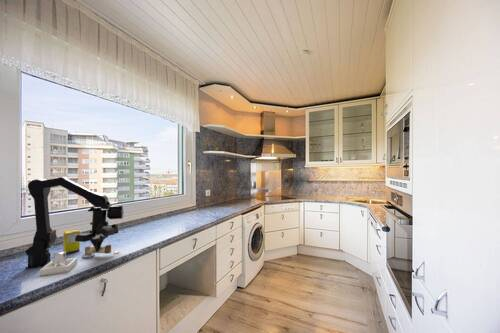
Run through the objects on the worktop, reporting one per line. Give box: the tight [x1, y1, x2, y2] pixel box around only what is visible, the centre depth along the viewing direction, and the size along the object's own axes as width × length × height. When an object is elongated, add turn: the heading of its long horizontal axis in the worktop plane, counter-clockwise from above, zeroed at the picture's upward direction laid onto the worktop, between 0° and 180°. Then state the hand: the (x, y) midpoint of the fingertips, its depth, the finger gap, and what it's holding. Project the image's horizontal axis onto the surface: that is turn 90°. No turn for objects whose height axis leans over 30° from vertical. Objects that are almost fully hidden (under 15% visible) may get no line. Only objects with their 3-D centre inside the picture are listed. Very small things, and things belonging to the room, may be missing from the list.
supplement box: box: [62, 229, 81, 255], centre depth 116 cm, size 6×6×11 cm
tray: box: [39, 257, 78, 277], centre depth 94 cm, size 10×10×2 cm
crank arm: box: [84, 244, 112, 255], centre depth 108 cm, size 13×3×4 cm, turn 86°
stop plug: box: [53, 250, 67, 267], centre depth 94 cm, size 4×4×6 cm
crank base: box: [81, 250, 120, 259], centre depth 111 cm, size 16×5×1 cm, turn 112°
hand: (97, 251), depth 106 cm, fingers closed
